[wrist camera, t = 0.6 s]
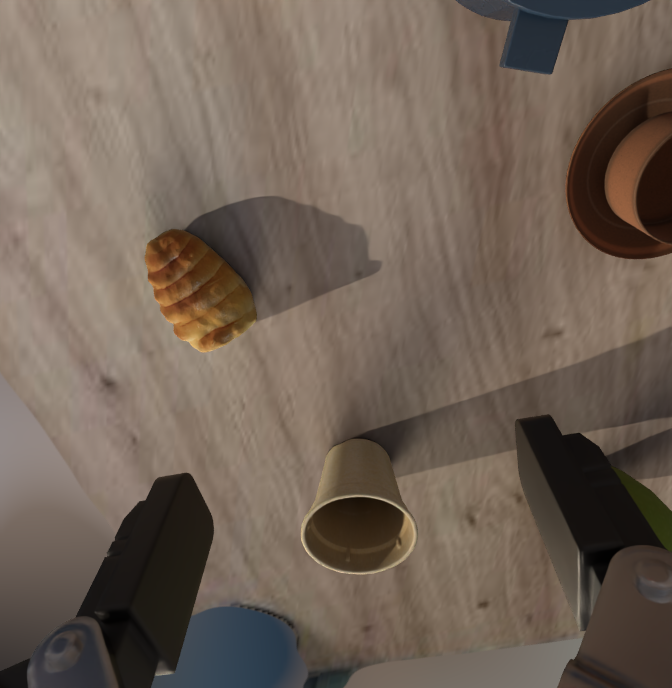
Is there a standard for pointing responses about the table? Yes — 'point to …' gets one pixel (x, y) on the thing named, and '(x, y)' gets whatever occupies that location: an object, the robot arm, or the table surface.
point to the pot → (524, 35)
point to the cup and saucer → (626, 172)
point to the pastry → (198, 290)
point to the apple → (650, 508)
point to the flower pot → (358, 512)
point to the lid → (574, 7)
